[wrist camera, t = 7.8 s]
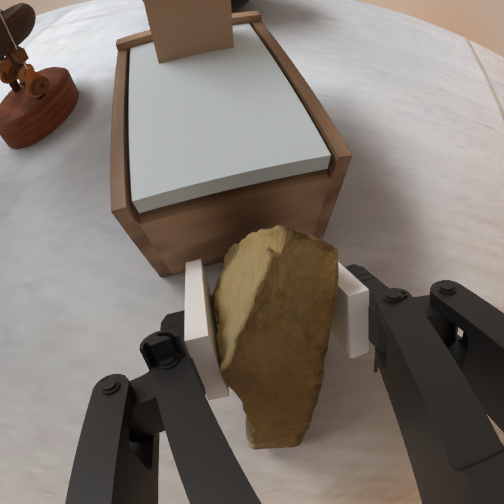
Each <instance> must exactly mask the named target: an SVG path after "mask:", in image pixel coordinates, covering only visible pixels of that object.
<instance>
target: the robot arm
mask: <svg viewBox="0 0 504 504" xmlns="http://www.w3.org/2000/svg"><path fill="white" fill-rule="evenodd" d="M338 267H339V282H338V287H337V293H336V299H335V307H334V317H333V322H332V326H331V329H330V330H331V331H332V332H333V334H334V335H335V337H336V338H337V340H338V341H339V342H340V344H341V345H342V347H343V348H344V350H345V351H346V352H347V354H348V355H349V357H350V358H351V359H353V358H355V357H358V356H361V355H363V354H366V353H369V340H370V341H371V343H372V344H373V345H374V346H375V360H374V373H375V372H377V367H379V370H380V372H381V375H382V378H383V380H384V383H385V386H386V389H387V392H388V394H389V397H390V400H391V403H392V406H393V409H394V412H395V415H396V418H397V421H398V424H399V427H400V430H401V433H402V436H403V439H404V442H405V445H406V449H407V452H408V455H409V458H410V462H411V465H412V468H413V472H414V475H415V479H416V482H417V486H418V489H419V493H420V497H421V500H422V504H504V446H503V444H502V443H501V441H500V439H499V437H498V436H497V434H496V432H495V430H494V428H493V426H492V424H491V422H490V420H489V418H488V416H489V417H490V418H491V419H492V420H493V421H494V422H495V423H496V424H497V425H498V427H499V428H500V429H501V430H502V431H503V432H504V313H502V312H501V311H499V310H498V309H497V308H495V307H494V306H492V305H491V304H489V303H488V302H486V301H485V300H483V299H482V298H480V297H479V296H477V295H476V294H474V293H473V292H471V291H470V290H468V289H467V288H465V287H464V286H462V285H461V284H459V283H456V282H454V281H450V280H442V281H438V282H436V283H434V284H432V286H431V288H430V295H426V296H420V297H412V296H411V294H410V293H409V292H407V291H405V290H403V289H398V288H391V289H389V288H388V287H387V286H385V285H384V284H383V283H382V282H381V281H379V280H378V279H377V278H375V276H373V275H372V274H370V272H368V271H367V270H366V269H365V268H364V267H361V266H358V265H355V264H353V265H350V266H346V267H343V266H342V265H341V264H340V263H339V262H338ZM213 306H214V304H213V302H212V297H211V293H210V290H209V286H208V283H207V279H206V276H205V272H204V269H203V265H202V261H201V259H199V260H195V261H191V262H187V263H186V272H185V310H184V311H180V312H176V313H172V314H167V315H166V317H165V318H164V319H163V321H162V322H161V329H160V330H161V331H158V332H155V333H153V334H151V335H149V336H148V337H146V338H145V339H144V340H143V341H142V343H141V344H140V351H141V353H142V355H143V358H144V360H145V362H146V364H147V366H148V368H149V372H148V373H146V374H145V375H143V376H141V377H138V378H136V379H134V380H131V381H129V380H128V379H127V377H126V376H124V375H121V374H112V375H109V376H106V377H104V378H103V379H101V380H100V381H99V382H98V383H97V384H96V385H95V387H94V389H93V392H92V395H91V398H90V402H89V405H88V409H87V412H86V416H85V420H84V423H83V427H82V431H81V435H80V439H79V443H78V447H77V451H76V455H75V459H74V464H73V468H72V473H71V477H70V482H69V487H68V492H67V497H66V503H65V504H158V465H159V432H162V431H164V430H165V431H166V434H167V438H168V441H169V444H170V447H171V451H172V454H173V457H174V460H175V463H176V466H177V469H178V472H179V475H180V478H181V480H182V483H183V486H184V489H185V491H186V494H187V497H188V499H189V502H190V504H261V502H260V500H259V499H258V497H257V495H256V494H255V492H254V490H253V488H252V487H251V485H250V483H249V481H248V479H247V478H246V476H245V474H244V472H243V470H242V469H241V467H240V465H239V463H238V461H237V459H236V457H235V456H234V454H233V452H232V450H231V448H230V446H229V444H228V442H227V440H226V438H225V436H224V434H223V432H222V430H221V428H220V426H219V424H218V422H217V420H216V418H215V416H214V414H213V412H212V410H211V408H210V406H209V403H208V401H207V399H206V397H205V393H206V395H207V398H208V400H211V399H216V398H220V397H225V396H229V391H228V386H226V385H225V384H224V382H223V379H222V377H221V372H220V366H221V361H220V356H219V351H218V345H217V340H216V337H217V332H218V326H217V320H216V314H215V311H214V307H213ZM458 327H459V328H460V329H461V330H462V331H464V333H463V337H460V336H459V335H458V334H457V332H458ZM485 412H486V413H485ZM486 414H487V415H488V416H487V415H486Z"/></svg>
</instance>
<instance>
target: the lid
mask: <svg viewBox="0 0 504 504" xmlns="http://www.w3.org/2000/svg"><path fill="white" fill-rule="evenodd" d="M144 4H145V9H146V13H147V17H148V22H149V26H150V30H151V34H152V38H153V42H150V43H147V44H143V45H140V46H136V47H133V48H131V49H130V69H129V156H130V178H131V194H132V202H133V204H134V206H135V207H136V209H137V211H138V212H139V213H142V212H145V211H149V210H153V209H156V208H160V207H163V206H167V205H171V204H175V203H178V202H182V201H186V200H190V199H194V198H198V197H202V196H206V195H210V194H214V193H218V192H222V191H226V190H230V189H234V188H239V187H243V186H247V185H252V184H256V183H261V182H265V181H270V180H274V179H279V178H284V177H288V176H293V175H298V174H303V173H308V172H313V171H318V170H323V169H327V168H328V165H329V161H330V157H331V154H330V152H329V150H328V149H327V147H326V145H325V143H324V141H323V140H322V138H321V136H320V134H319V132H318V131H317V129H316V127H315V125H314V124H313V122H312V120H311V118H310V117H309V115H308V113H307V112H306V110H305V108H304V107H303V105H302V103H301V101H300V100H299V98H298V97H297V95H296V93H295V92H294V90H293V88H292V87H291V85H290V84H289V82H288V80H287V79H286V77H285V76H284V74H283V73H282V71H281V70H280V68H279V66H278V65H277V63H276V62H275V60H274V59H273V57H272V56H271V54H270V53H269V51H268V50H267V48H266V47H265V46H264V44H263V43H262V41H261V40H260V38H259V37H258V35H257V34H256V33H255V31H254V30H253V28H252V27H251V26H250V24H249V23H247V24H239V25H232V10H231V0H144Z"/></svg>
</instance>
